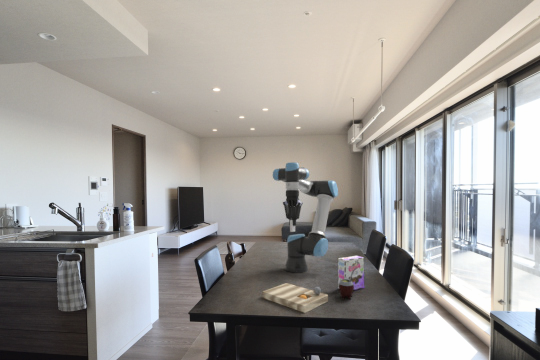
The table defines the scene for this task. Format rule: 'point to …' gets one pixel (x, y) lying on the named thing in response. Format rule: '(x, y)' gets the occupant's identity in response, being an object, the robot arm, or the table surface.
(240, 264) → the table surface
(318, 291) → the grey ball
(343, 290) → the mate gourd
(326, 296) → the deck
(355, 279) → the candy box
